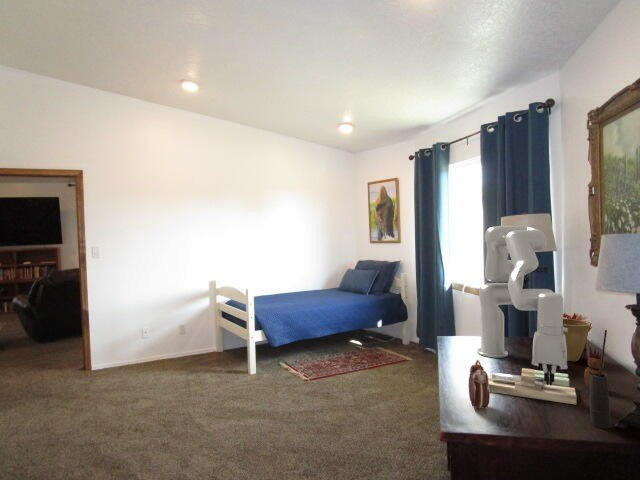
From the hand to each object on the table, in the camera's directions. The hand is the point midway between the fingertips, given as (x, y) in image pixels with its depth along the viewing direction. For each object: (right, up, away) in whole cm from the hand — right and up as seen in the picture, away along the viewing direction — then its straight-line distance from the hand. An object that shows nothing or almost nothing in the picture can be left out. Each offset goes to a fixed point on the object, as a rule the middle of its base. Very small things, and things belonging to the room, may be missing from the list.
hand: (549, 383), depth 146 cm
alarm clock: (-27, -5, -9) cm, 29 cm away
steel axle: (-9, -2, +4) cm, 10 cm away
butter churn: (+3, -5, -21) cm, 21 cm away
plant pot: (+29, -3, +40) cm, 50 cm away
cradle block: (+4, -4, +7) cm, 9 cm away
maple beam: (-6, -4, +3) cm, 8 cm away
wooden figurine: (+19, -4, +5) cm, 20 cm away
